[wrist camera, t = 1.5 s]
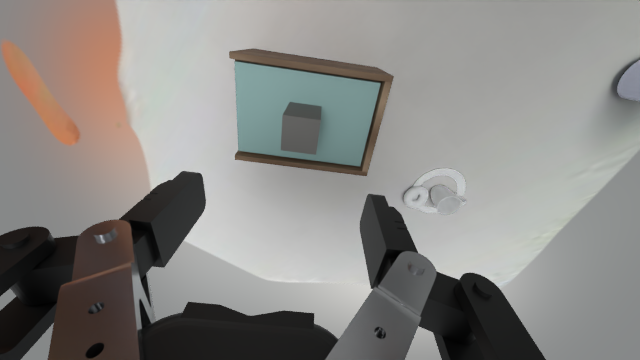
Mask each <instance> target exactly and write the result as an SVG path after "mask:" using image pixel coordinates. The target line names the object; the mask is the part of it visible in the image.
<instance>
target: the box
mask: <svg viewBox="0 0 640 360" xmlns="http://www.w3.org/2000/svg"><path fill="white" fill-rule="evenodd" d="M229 55H230V58H231V59H235V61H243V62H250V63H256V64H263V65H270V66H276V67H283V68H290V69H297V70H303V71H310V72H317V73H323V74H330V75H337V76H343V77H350V78H357V79H364V80H370V81H377V82H380V83H381V84H380V88H379V92H378V96H377V100H376V104H375V108H374V112H373V116H372V121H371V125H370V129H369V133H368V137H367V141H366V145H365V149H364V153H363V157H362V161H361V165H360V166H352V165H345V164H337V163H329V162H321V161H314V160H306V159H298V158H290V157H283V156H275V155H267V154H259V153H251V152H244V151H239V150H238V152H237V153H236V154H235V160H243V161H251V162H259V163H267V164H275V165H283V166H291V167H298V168H306V169H314V170H322V171H330V172H338V173H346V174H354V175H362V176H367V173H368V169H369V165H370V161H371V158H372V154H373V150H374V147H375V143H376V139H377V136H378V132H379V128H380V125H381V121H382V117H383V114H384V110H385V106H386V103H387V99H388V95H389V92H390V88H391V84H392V80H393V77H394V76H392V75H390V74H388V73H386V72H384V71H382V70H381V69H379V68H376V67H370V66H363V65H356V64H350V63H343V62H337V61H330V60H324V59H317V58H311V57H304V56H297V55H291V54H284V53H278V52H271V51H265V50H258V49H246V50H238V51H230V52H229Z"/></svg>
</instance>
